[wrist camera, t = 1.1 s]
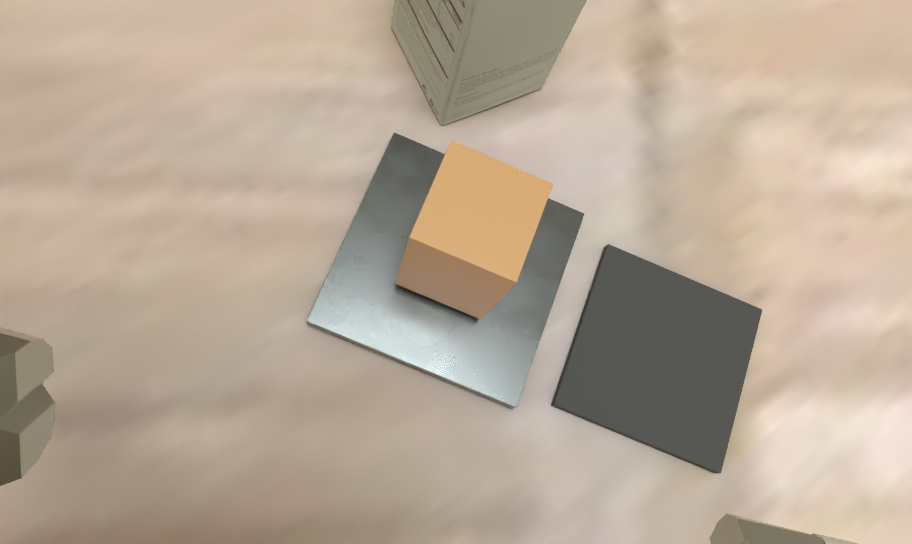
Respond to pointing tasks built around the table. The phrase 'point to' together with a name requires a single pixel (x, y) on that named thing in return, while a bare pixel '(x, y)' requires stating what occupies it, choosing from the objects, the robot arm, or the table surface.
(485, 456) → the table surface
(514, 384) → the post stand
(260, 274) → the table surface
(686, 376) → the mat
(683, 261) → the table surface
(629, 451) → the table surface
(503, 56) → the supplement box
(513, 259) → the tan rectangular pillar
